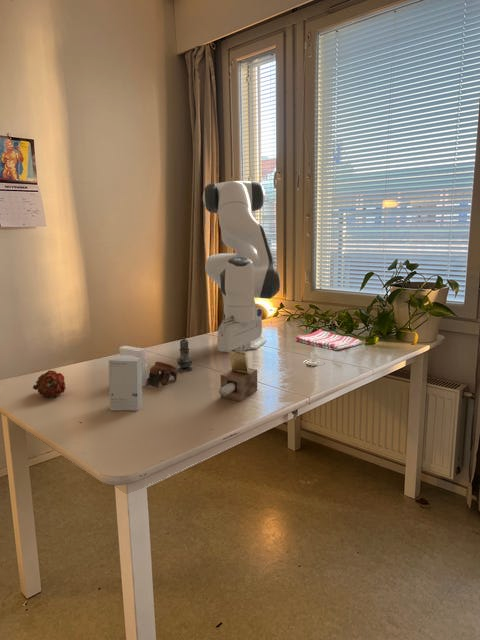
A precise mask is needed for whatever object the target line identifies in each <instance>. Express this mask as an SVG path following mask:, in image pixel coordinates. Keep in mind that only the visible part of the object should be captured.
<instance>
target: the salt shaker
mask: <svg viewBox="0 0 480 640" xmlns="http://www.w3.org/2000/svg"><path fill="white" fill-rule="evenodd" d="M179 347H180V348H179V349H178V351H179V355H180V356H179V357H178V358H177V359H176V362H177V363H176V364H177V366H178V368H177V371H178V372H182V373H183V372H184V373H185V372H186V373H187V372H191V371H193V368H192V367H191V365H192V364H193V361H194V359H193V358H192V357H190V348H189V341H188V340H187V339H186V337H185V336H184V337H182V339H180V341H179Z"/></svg>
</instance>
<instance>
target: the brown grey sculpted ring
mask: <svg viewBox="0 0 480 640" xmlns="http://www.w3.org/2000/svg"><path fill="white" fill-rule="evenodd" d="M177 370H178V368H177V367H175V366H174V365H172V364H169V363H167V362H162V361H155V363H154V365H152V367H150V369H149V373H148V379H147V385H148V386H150V387H153V388H157V389H159V387H160V384H161V385H162V386H167V385H168V384H169V380H170V378H171V376H172V377H173V381H174V382H176V381H177V380H178V374H177V372H176V371H177ZM147 385H146V386H147Z"/></svg>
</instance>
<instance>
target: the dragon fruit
mask: <svg viewBox="0 0 480 640" xmlns="http://www.w3.org/2000/svg"><path fill="white" fill-rule="evenodd" d="M37 379H38V380H36V381H35V383H36V384H33V385H32V389H34V390H35V391H37V392H38V394H39V395H40V396H42V397H44V398H45V397H48V398H51V399H52V398H53V399H55V398H57V396H59V395H60V394H63V393H64V392H65V389H66V388H67V387H66V382H65V376H64V375H63V374H62V373H60V372H58V373H57V371H55V370H51V369H50V370H47V371H46V372H45V373H41V374H40V376H38V378H37Z"/></svg>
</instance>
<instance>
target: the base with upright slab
mask: <svg viewBox="0 0 480 640" xmlns="http://www.w3.org/2000/svg"><path fill="white" fill-rule="evenodd" d="M118 351H119V353H118V354H119V355H130V356H141V371H142V388H143V387H145V386H147V379H148V378H149V373H148V364H147V362H146V361H147V360H146V357H147V356H146V348H143V347H135V346H130V345H122V346H120V347H119V348H118Z"/></svg>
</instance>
